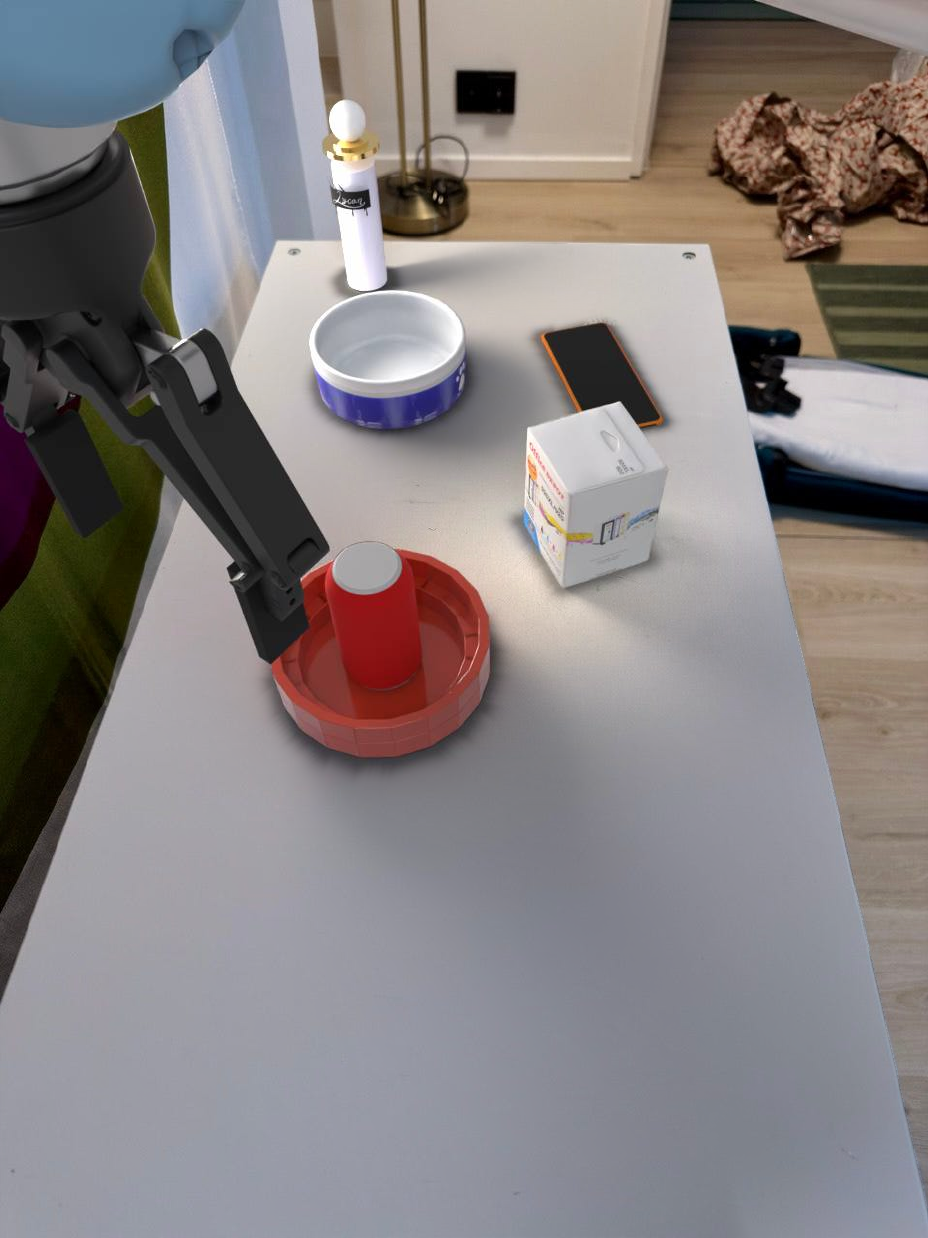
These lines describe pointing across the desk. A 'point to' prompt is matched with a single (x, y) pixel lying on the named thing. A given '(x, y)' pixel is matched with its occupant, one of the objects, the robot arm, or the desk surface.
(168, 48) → the robot arm
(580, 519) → the ink box
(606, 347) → the smartphone
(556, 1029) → the desk surface
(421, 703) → the red bowl
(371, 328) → the dog bowl
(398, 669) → the beverage can
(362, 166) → the perfume bottle
